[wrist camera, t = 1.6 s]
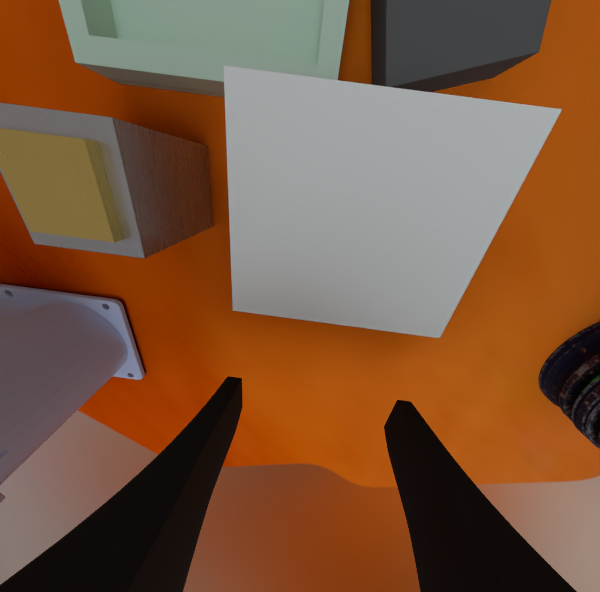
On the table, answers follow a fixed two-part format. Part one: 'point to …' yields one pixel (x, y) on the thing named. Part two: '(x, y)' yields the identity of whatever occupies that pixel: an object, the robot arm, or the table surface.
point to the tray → (204, 39)
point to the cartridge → (103, 181)
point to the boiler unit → (366, 196)
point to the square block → (451, 40)
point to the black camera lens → (576, 381)
